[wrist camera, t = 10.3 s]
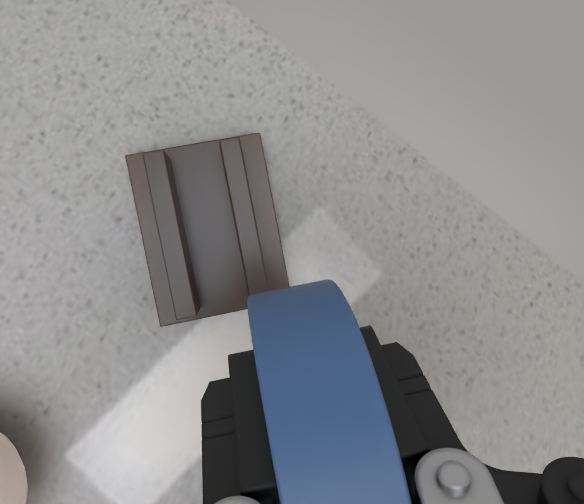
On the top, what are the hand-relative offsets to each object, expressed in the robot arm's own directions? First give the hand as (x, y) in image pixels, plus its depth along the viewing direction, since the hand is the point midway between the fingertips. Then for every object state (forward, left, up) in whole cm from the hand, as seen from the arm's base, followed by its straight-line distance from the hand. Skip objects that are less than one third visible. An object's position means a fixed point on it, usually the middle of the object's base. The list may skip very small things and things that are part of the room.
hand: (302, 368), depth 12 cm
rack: (+1, -4, -16) cm, 17 cm away
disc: (0, +2, +1) cm, 2 cm away
